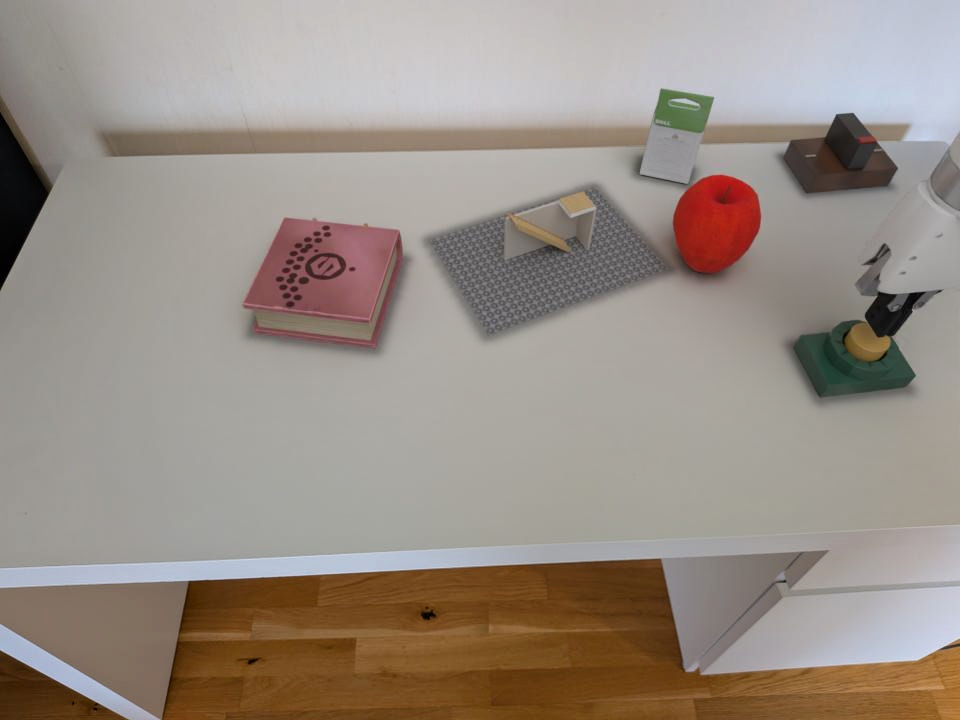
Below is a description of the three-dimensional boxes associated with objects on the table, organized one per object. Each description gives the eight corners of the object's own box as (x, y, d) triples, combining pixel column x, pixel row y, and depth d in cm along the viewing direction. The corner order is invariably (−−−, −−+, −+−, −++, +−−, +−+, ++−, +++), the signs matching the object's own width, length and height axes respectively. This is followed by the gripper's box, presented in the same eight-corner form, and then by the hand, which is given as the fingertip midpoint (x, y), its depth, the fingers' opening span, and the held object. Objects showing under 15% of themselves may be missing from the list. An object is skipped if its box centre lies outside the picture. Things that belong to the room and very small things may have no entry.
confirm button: (871, 330, 74) (879, 320, 73) (889, 359, 72) (898, 349, 71) (837, 334, 74) (844, 324, 73) (854, 363, 72) (861, 353, 70)
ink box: (692, 168, 97) (719, 81, 86) (688, 185, 95) (715, 98, 84) (643, 158, 98) (664, 71, 87) (638, 175, 96) (659, 87, 85)
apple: (647, 245, 87) (668, 166, 78) (713, 228, 89) (742, 149, 80) (686, 299, 82) (714, 222, 72) (756, 280, 84) (793, 202, 74)
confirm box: (875, 337, 78) (892, 315, 75) (906, 387, 74) (925, 365, 71) (793, 347, 77) (806, 324, 74) (819, 397, 73) (835, 376, 70)
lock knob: (824, 139, 96) (837, 112, 93) (840, 137, 96) (854, 111, 93) (846, 169, 92) (861, 143, 89) (864, 168, 92) (879, 141, 89)
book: (404, 254, 86) (400, 224, 82) (375, 348, 77) (369, 319, 73) (295, 242, 87) (286, 212, 83) (253, 333, 78) (242, 304, 74)
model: (589, 249, 87) (597, 202, 81) (515, 275, 84) (518, 228, 78) (576, 233, 89) (584, 186, 82) (503, 258, 86) (505, 211, 80)
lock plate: (860, 151, 100) (871, 132, 97) (887, 185, 95) (899, 167, 92) (783, 157, 99) (791, 138, 96) (806, 193, 94) (815, 174, 91)
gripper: (1040, 147, 58) (925, 293, 73) (877, 161, 57) (794, 306, 72) (1099, 204, 54) (965, 347, 69) (924, 220, 53) (825, 362, 67)
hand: (878, 326), depth 70 cm, fingers closed
